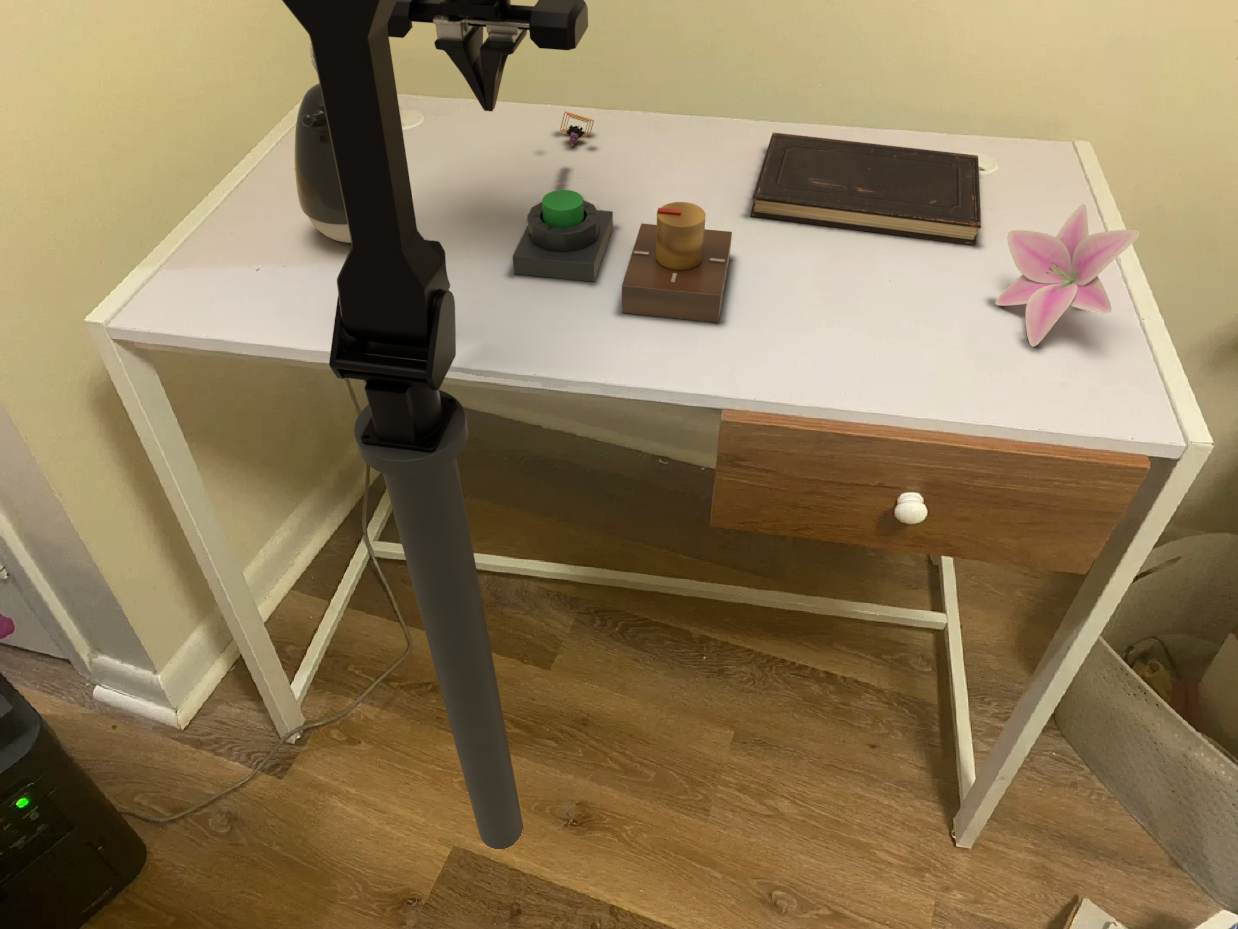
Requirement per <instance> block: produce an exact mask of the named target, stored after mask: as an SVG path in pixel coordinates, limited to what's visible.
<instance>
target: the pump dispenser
mask: <svg viewBox="0 0 1238 929" xmlns="http://www.w3.org/2000/svg"><path fill="white" fill-rule="evenodd" d="M294 130H295V132H294V157H293V158H294V176H295V177H294V178H295V183H296V185H295V186H296V191H297V193H296V194H297V199H298V202H299V206H300V209H301V211H302V213H304V215H305V216H307V217H308V219H309V221H310V222H311V224H312V225H313V226H314V227H315V228H316V229H317V230H318V231H319V232H320V233H321V234H323V235H324V236H326V237H327V238H329V239H331V240H333V241H336V242H340V243H347V244H351V238H350V233H349V228H348V223H347V218H346V213H345V208H344V203H343V198H342V193H341V188H340V183H339V178H338V173H337V168H336V163H335V158H334V153H333V148H332V143H331V138H330V133H329V128H328V123H327V118H326V113H325V108H324V103H323V98H322V93H321V88H320V83H319V82H318V83H316V84H314V85H312V86H311V87H310V88H309V89H308V90H307V91H306V92H305V93H304V95H303V97H302V99H301V102H300V105H299V108H298V112H297V116H296V122H295V129H294Z"/></svg>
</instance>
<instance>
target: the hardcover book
mask: <svg viewBox="0 0 1238 929" xmlns="http://www.w3.org/2000/svg"><path fill="white" fill-rule="evenodd" d="M979 164H980V163H979V155H977V154H976V155H975V154H970V153H969V154H968V153H959V152H950V151H941V150H934V149H932V150H931V149H925V148H915V147H908V146H907V147H905V146H897V145H889V144H879V143H871V142H863V141H852V140H845V139H844V140H843V139H836V138H835V139H834V138H826V137H816V136H808V135H801V134H800V135H799V134H793V133H792V134H790V133H783V132H773V131H772V133H771V136H770V139H769V142H768V146H767V149H766V152H765V156H764V158H763V162H762V165H761V168H760V171H759V175H758V178H757V181H756V184H755V187H754V191H753V193H752V197H751V200H753V203H752V207H751V211H750V214H749V216H750V217H754V218H755V217H756V218H763V219H771V220H778V221H787V222H795V223H801V224H808V225H809V224H810V225H815V226H816V225H817V226H823V227H824V226H825V227H832V228H840V229H847V230H856V231H864V232H872V233H877V234H887V235H895V236H903V237H910V238H917V239H925V240H932V241H939V242H940V241H941V242H948V243H956V244H963V245H971V246H975V245H976V242H977V240H976V239H977V238H976V237H977V236H976V235H977V234H978V229H981V228H982V215H981V214H982V213H981V194H980V192H981V191H980V169H979V168H980V167H979Z"/></svg>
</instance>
